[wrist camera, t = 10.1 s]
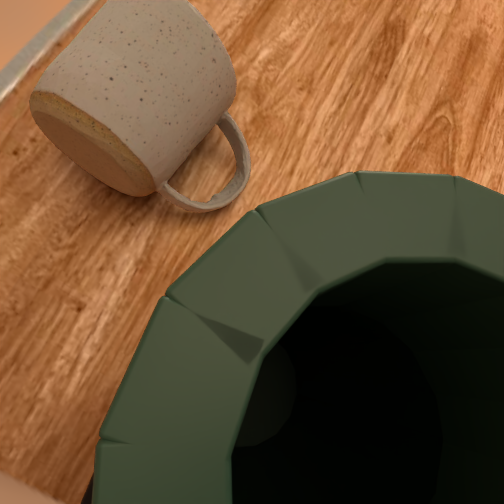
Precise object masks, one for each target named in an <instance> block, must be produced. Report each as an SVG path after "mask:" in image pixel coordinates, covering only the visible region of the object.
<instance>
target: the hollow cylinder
mask: <svg viewBox="0 0 504 504" xmlns="http://www.w3.org/2000/svg"><path fill="white" fill-rule="evenodd" d="M99 436H100V437H101V438H100V439H99V441H98V443H97V445H96V449H95V463H94V477H93V491H92V504H504V195H503V194H500V193H498V192H496V191H493V190H491V189H489V188H486V187H484V186H481V185H479V184H477V183H474V182H472V181H470V180H467V179H465V178H463V177H460V176H451V175H448V174H426V173H404V172H382V171H357V172H354V173H353V172H348V173H345V174H342V175H339V176H337V177H334V178H331V179H329V180H326V181H323V182H320V183H318V184H315V185H312V186H310V187H307V188H304V189H301V190H299V191H296V192H293V193H291V194H288V195H285V196H282V197H280V198H277V199H274V200H272V201H269V202H266V203H263V204H261V205H258V206H257V207H256V208H255V210H251V211H249V212H247V213H246V214H245V215H244V216H243V217H242V218H241V219H240V220H239V221H238V222H237V223H235V224H234V225H233V226H232V227H231V228H230V229H229V230H228V231H227V232H226V233H225V234H224V235H223V236H222V237H221V238H220V239H219V240H218V241H217V242H216V243H214V244H213V245H212V246H211V247H210V248H209V249H208V250H207V251H206V252H205V253H204V254H203V255H202V256H201V257H200V258H199V259H198V260H197V261H196V262H195V263H193V264H192V265H191V266H190V267H189V268H188V269H187V270H186V271H185V272H184V273H183V274H182V275H181V276H180V277H179V278H178V279H177V280H176V281H175V282H174V283H172V284H171V285H170V286H169V287H168V288H167V290H166V292H165V296H162V297H161V298H160V299H159V300H158V302H157V305H156V307H155V309H154V311H153V313H152V316H151V318H150V320H149V322H148V324H147V327H146V329H145V331H144V333H143V335H142V338H141V340H140V342H139V344H138V346H137V349H136V351H135V353H134V355H133V357H132V360H131V362H130V364H129V366H128V368H127V371H126V373H125V375H124V377H123V379H122V382H121V384H120V386H119V388H118V390H117V393H116V395H115V397H114V399H113V401H112V403H111V406H110V408H109V410H108V412H107V414H106V417H105V419H104V421H103V423H102V425H101V428H100V431H99Z"/></svg>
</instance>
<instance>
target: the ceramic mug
mask: <svg viewBox="0 0 504 504" xmlns="http://www.w3.org/2000/svg"><path fill="white" fill-rule="evenodd" d="M235 95H236V76H235V72H234V68H233V65H232V62H231V59H230V56H229V55H228V53H227V50H226V48H225V46H224V45H223V43H222V41H221V40H220V38H219V37H218V35H217V33H216V32H215V31H214V29H213V28H212V27H211V25H210V24H209V23H208V22H207V20H206V19H205V18H204V17H203V15H202V14H201V13H200V12H199V11H198V10H197V9H196V8H195V7H194V6H193V5H192V4H191V3H190V2H188V1H187V0H108V1H107V2H106V3H105V4H104V5H103V7H102V8H101V9H100V10H99V11H98V12H97V13H96V14H95V15H94V16H93V17H92V19H91V20H90V21H89V22H88V23H87V24H86V25H85V26H84V28H83V29H82V30H81V31H80V32H79V33H78V35H77V36H76V37H75V38H74V39H73V41H72V42H71V43H70V44H69V45H68V46H67V47H66V48H65V49H64V50H63V51H62V52H61V53H60V54H59V55H58V56H57V57H56V58H55V60H54V61H53V62H52V63H51V64H50V65H49V66H48V67H47V69H46V70H45V71H44V73H43V74H42V76H41V78H40V79H39V81H38V83H37V85H36V87H35V88H34V90H33V92H32V94H31V97H30V100H29V103H30V110H31V113H32V116H33V118H34V120H35V122H36V124H37V125H38V126H39V128H40V129H41V130H42V132H43V133H44V134H45V135H46V136H47V137H48V138H49V139H50V140H51V141H52V142H53V143H54V144H55V145H56V146H57V147H58V148H59V149H60V150H61V151H62V152H63V153H64V154H66V155H67V156H68V157H69V158H70V159H71V160H73V161H74V162H75V163H76V164H78V165H79V166H80V167H81V168H83V169H84V170H85V171H87V172H88V173H90V174H91V175H92V176H94V177H95V178H97V179H98V180H100V181H102V182H103V183H105V184H106V185H108V186H110V187H112V188H114V189H115V190H117V191H119V192H121V193H124V194H127V195H130V196H136V197H139V196H147V195H150V194H151V193H153V192H159V193H160V194H161V195H162V196H163V197H164V198H165V199H166V200H167V201H169V202H171V203H172V204H174V205H176V206H178V207H181V208H183V209H185V210H188V211H193V212H202V213H203V212H209V211H213V210H216V209H220V208H222V207H225V206H227V205H228V204H229V203H231V202H232V201H233V200H234V199H235V198H237V197H238V195H239V194H240V193H241V192H242V191H243V190H244V188H245V186H246V184H247V182H248V180H249V177H250V171H251V161H250V153H249V149H248V146H247V143H246V140H245V138H244V136H243V134H242V132H241V130H240V129H239V127H238V126H237V124H236V122H235V121H234V120H233V118H232V117H231V115H230V114H229V113H228V112H227V111H228V108H229V107H230V106H231V104H232V102H233V100H234V97H235ZM215 124H217V125H218V126H219V128H220V129H221V130H222V132H223V133H224V135H225V136H226V138H227V139H228V141H229V143H230V145H231V147H232V149H233V151H234V154H235V158H236V165H237V169H236V172H235V176H234V178H233V179H232V180H231V181H230V182H229V183H228V185H227V186H226V187H225V188H224V189H223V190H222V191H221V192H220V193H218V194H214V195H213V196H212V198H211V200H210V201H208V202H207V203H202V202H197V201H191V200H190V199H189V198H187V197H185V196H183V195H181V194H180V193H178V192H177V191H176V190H175V189H173V188H171V187H170V186H169V185H168V183H167V182H168V180H169V179H170V178H171V177H172V175H173V174H174V173H175V171H176V170H177V169H178V168H179V167H180V165H181V164H182V163H183V162H184V161H185V160H186V159H187V156H188V155H189V154H190V153H191V151H192V150H193V149H194V148H195V147H196V146H197V145H198V144H199V143H200V142H201V141H202V139H203V138H204V137H205V136H206V135H207V134H208V133H209V131H210V130H211V129H212V128H213V127H214V125H215Z"/></svg>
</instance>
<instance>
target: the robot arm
mask: <svg viewBox="0 0 504 504" xmlns="http://www.w3.org/2000/svg"><path fill="white" fill-rule="evenodd" d="M93 477H94V473H93V475H92V478H91V480H90V482H89V485H88V487H87V489H86V492H85V494H84V497H83V499H82V501H81V504H92V491H93Z"/></svg>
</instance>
